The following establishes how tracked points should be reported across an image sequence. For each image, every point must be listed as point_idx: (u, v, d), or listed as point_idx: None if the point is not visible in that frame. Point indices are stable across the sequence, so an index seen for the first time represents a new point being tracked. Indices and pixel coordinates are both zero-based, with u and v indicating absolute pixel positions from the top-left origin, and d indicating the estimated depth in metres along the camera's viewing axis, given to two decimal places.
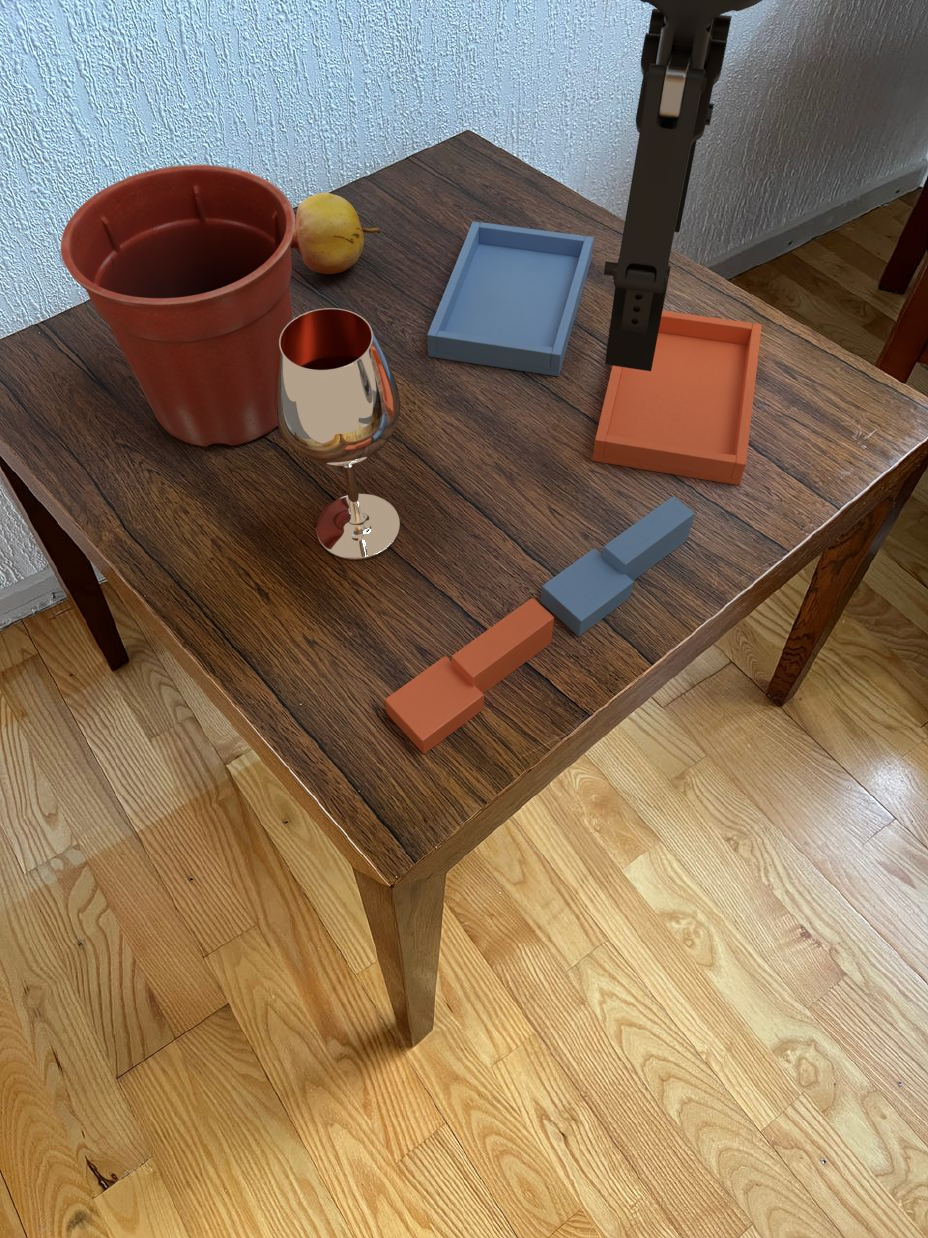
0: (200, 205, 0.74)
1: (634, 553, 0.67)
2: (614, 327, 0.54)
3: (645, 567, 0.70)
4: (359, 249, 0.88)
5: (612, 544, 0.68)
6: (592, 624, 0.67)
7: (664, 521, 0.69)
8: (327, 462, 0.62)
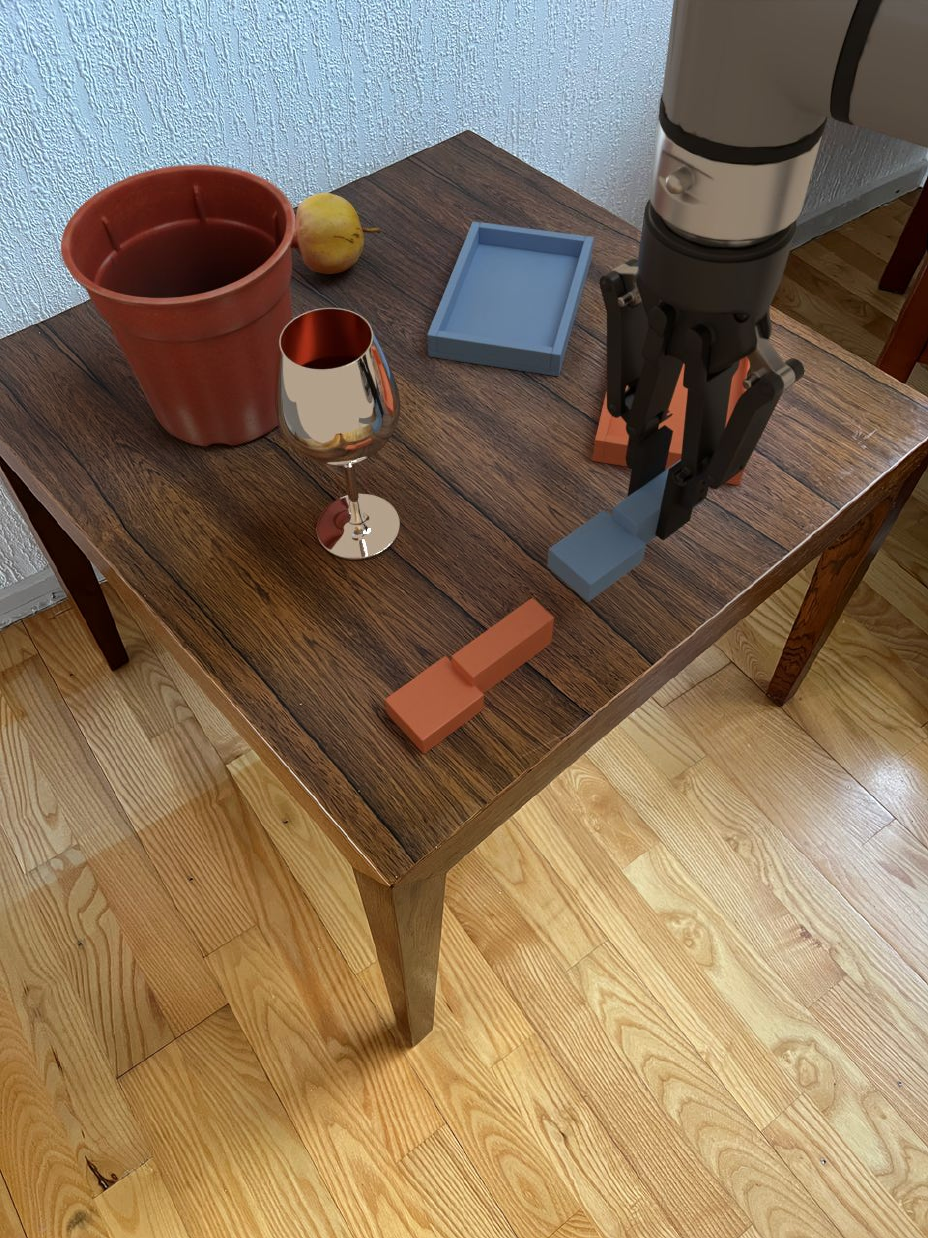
0: (200, 205, 0.74)
1: (647, 514, 0.63)
2: (671, 513, 0.64)
3: None
4: (359, 249, 0.88)
5: (623, 504, 0.64)
6: (602, 589, 0.64)
7: None
8: (327, 462, 0.62)
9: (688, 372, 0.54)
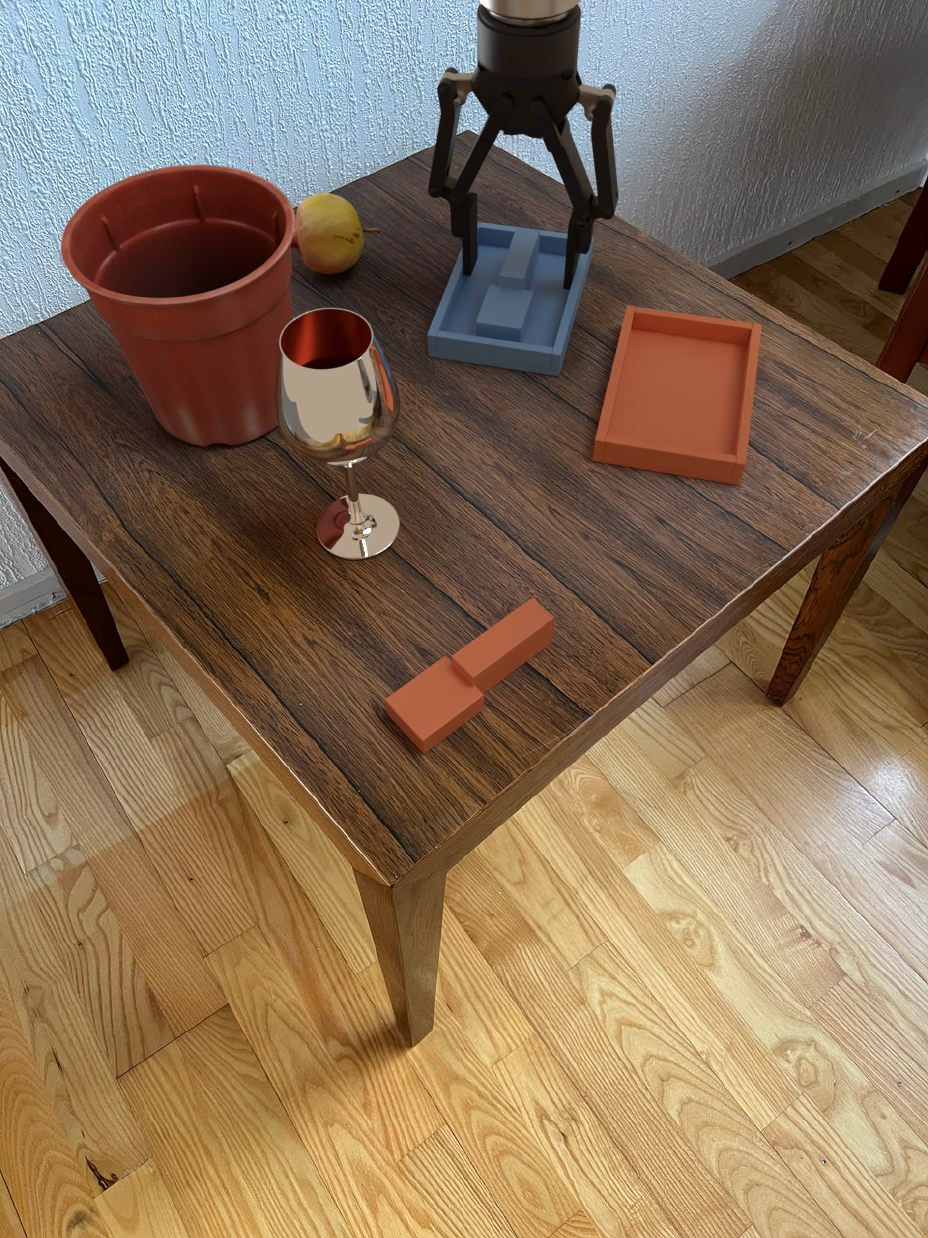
0: (200, 205, 0.74)
1: (523, 269, 0.84)
2: (574, 262, 0.84)
3: (528, 285, 0.87)
4: (359, 249, 0.88)
5: (504, 271, 0.84)
6: (523, 334, 0.84)
7: (524, 243, 0.86)
8: (327, 462, 0.62)
9: (546, 136, 0.75)
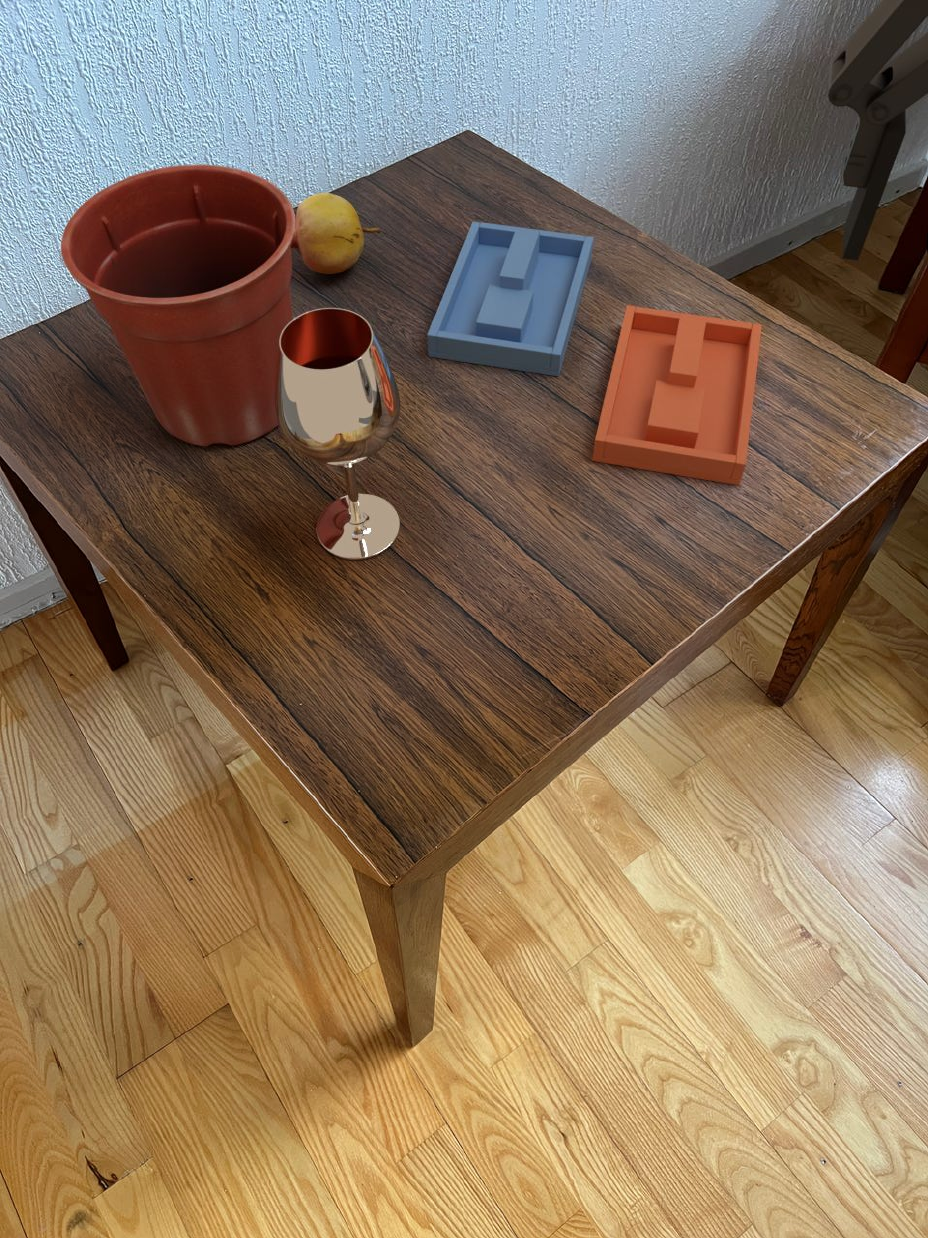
0: (200, 205, 0.74)
1: (523, 269, 0.84)
2: None
3: (528, 285, 0.87)
4: (359, 249, 0.88)
5: (504, 271, 0.84)
6: (523, 334, 0.84)
7: (524, 243, 0.86)
8: (327, 462, 0.62)
9: None
